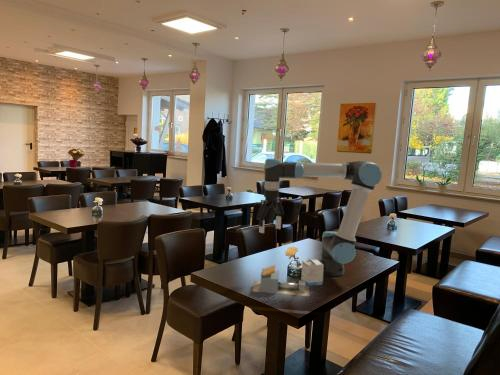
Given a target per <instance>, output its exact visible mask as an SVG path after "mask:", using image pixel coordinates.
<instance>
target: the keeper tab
mask: <svg viewBox="0 0 500 375" xmlns="http://www.w3.org/2000/svg"><path fill="white" fill-rule="evenodd" d="M275 271H276V265H275V264H274V265H271V266H268V267H266V268H262V270H261V275H260V278H261V277H264V276H267V275H269V274H272V273H275Z"/></svg>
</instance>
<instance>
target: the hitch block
mask: <svg viewBox="0 0 500 375" xmlns="http://www.w3.org/2000/svg"><path fill="white" fill-rule="evenodd" d="M279 272H280V271H279V270H275V273H272V274H269V275H267V276H264V277H261V276H260V282H261V290H260V292H259V293H266V292H272V293H271V294H278V293H277V292H278V282H279V275H280V273H279Z"/></svg>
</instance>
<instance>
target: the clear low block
mask: <svg viewBox="0 0 500 375" xmlns="http://www.w3.org/2000/svg"><path fill="white" fill-rule="evenodd" d="M306 285H307V284H306V283H305V281H302V280H301V279H300V280H298V283H295V282H294V283H293V282H285V281H283V282H282V281H278V288H280V289H292V290H299V292H300V293H305V288H306Z"/></svg>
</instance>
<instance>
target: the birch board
mask: <svg viewBox="0 0 500 375" xmlns="http://www.w3.org/2000/svg"><path fill="white" fill-rule="evenodd" d="M305 285H306V288H305V293H300V292H299V290H292V289H280V288H278V292H277V293H276V294H279V295H280V294H281V295H290V296H291V295H294V296H302V297H303V296H305V297H311V296H310V288H309V286H308V285H307V284H305ZM260 290H261V281H258V280H255V281H254V282H253V286H252V289H251V292H255V293H256V292H257V293H261V292H260ZM266 293H267V294H273V293H272V292H265V294H266Z"/></svg>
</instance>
